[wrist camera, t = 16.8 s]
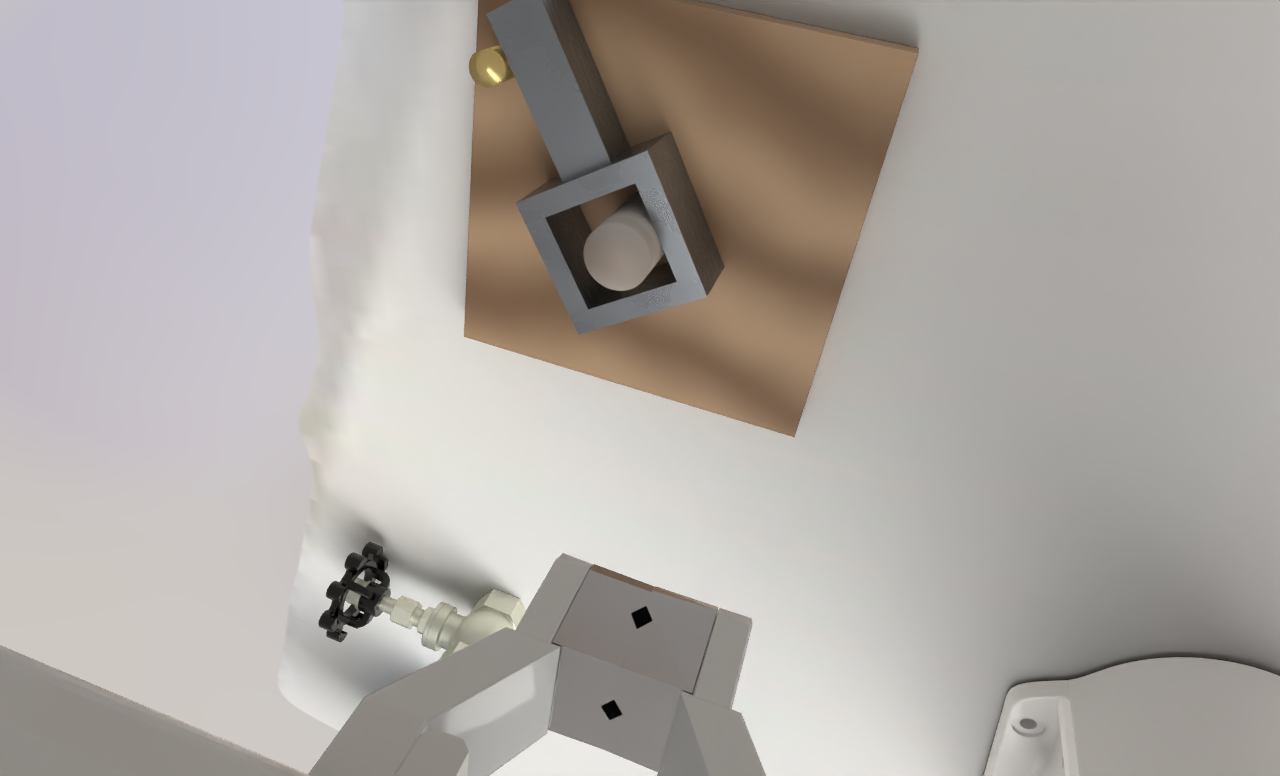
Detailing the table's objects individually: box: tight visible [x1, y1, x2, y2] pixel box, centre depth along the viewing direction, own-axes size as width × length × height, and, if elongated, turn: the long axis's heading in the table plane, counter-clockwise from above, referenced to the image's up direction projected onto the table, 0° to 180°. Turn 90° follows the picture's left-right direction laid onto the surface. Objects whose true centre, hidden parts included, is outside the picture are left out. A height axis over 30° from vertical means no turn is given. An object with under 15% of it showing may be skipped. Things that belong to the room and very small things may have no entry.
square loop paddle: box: [486, 0, 725, 335], centre depth 34 cm, size 13×6×4 cm, turn 24°
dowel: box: [469, 45, 515, 88], centre depth 34 cm, size 1×1×4 cm
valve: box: [319, 542, 526, 659], centre depth 53 cm, size 7×7×12 cm
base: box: [464, 0, 919, 437], centre depth 35 cm, size 18×18×6 cm
